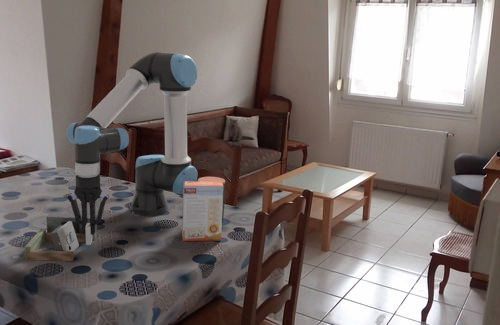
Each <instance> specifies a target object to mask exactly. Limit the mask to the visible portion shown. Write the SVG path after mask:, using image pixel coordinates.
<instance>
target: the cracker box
mask: <svg viewBox="0 0 500 325" xmlns="http://www.w3.org/2000/svg"><path fill="white" fill-rule="evenodd" d="M224 186H225V185H224ZM224 186H223V184H222V182H198V181H196V182H190V181H184V185H183V194H182V222H181V223H182V232H181V233H182V234H181V235H182V241H183V242H190V241H191V242H193V241H194V242H196V241H197V242H198V241H199V242H200V241H201V242H202V241H204V242H205V241H209V242H211V241H218V242H219V241H222V230H223V229H222V228H223V227H222V226H223V224H222V209H223V187H224Z"/></svg>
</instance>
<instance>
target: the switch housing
mask: <svg viewBox="0 0 500 325" xmlns="http://www.w3.org/2000/svg"><path fill="white" fill-rule="evenodd" d="M80 215H81V218H82V213H80ZM97 215H98V214H95V220H96V219H97ZM68 221H71V222H72V224H73V227H74V231H75V233H77V234H79V233H81V234H83V233H82V225H81V224H77V223H76V220H75V216H74V213H63V212H62V213H59V212H58V213H57V212H50V213H49V214H48V215H46V232H48V233H52V232H53V231H54V230H55V229H57V228H58V227H59V226H61V225H64V224H66V223H67V222H68ZM87 221H88V222H87V223H90V213H89V214H88V213H87ZM97 237H98V224H96V225H95V233H94V235H92V241H95V240H96V238H97ZM85 241H86V234H85Z"/></svg>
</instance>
